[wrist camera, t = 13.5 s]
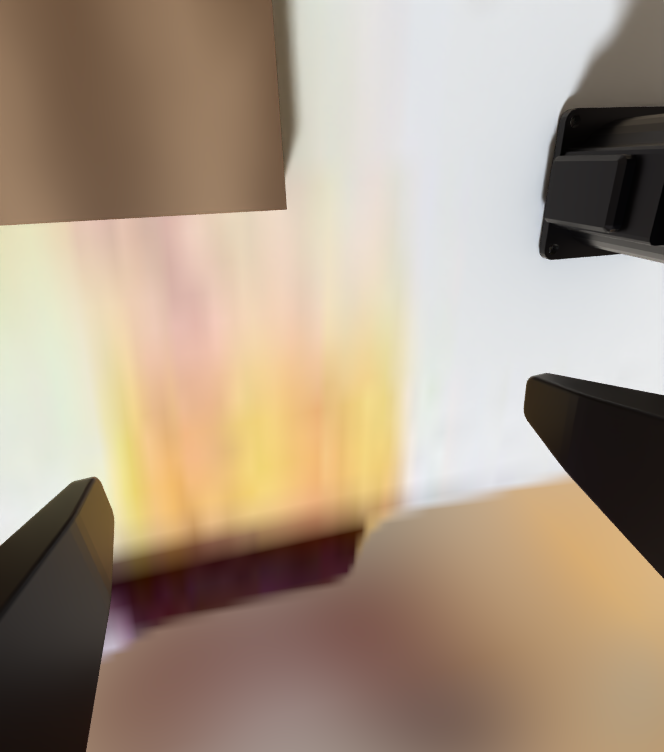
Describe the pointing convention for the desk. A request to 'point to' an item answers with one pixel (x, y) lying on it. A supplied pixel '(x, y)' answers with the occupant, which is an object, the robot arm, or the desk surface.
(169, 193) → the walnut board
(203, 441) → the desk surface
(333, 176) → the desk surface
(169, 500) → the desk surface
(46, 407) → the desk surface
